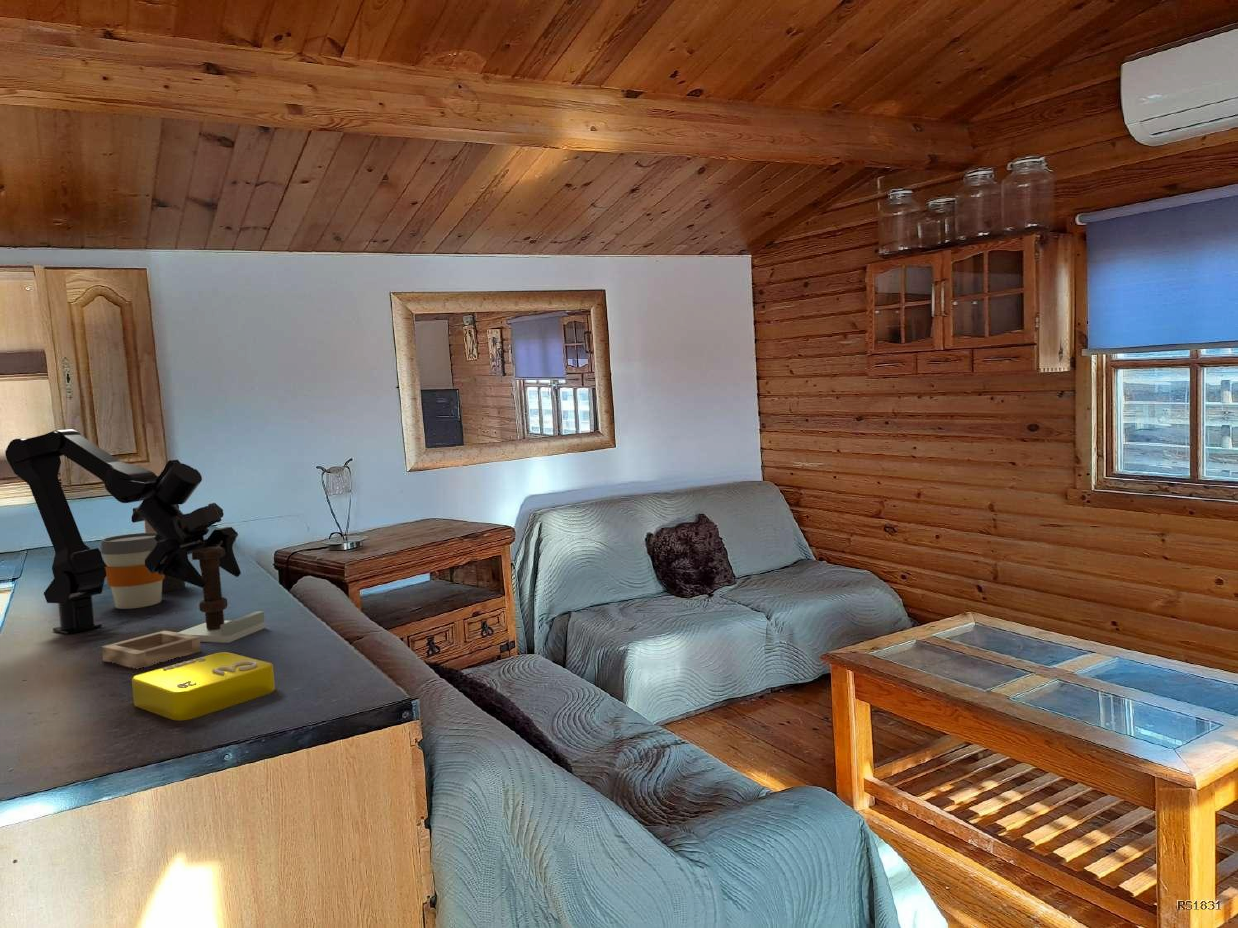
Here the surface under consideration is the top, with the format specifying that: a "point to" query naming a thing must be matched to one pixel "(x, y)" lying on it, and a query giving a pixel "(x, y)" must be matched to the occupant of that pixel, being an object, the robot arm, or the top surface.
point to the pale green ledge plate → (229, 629)
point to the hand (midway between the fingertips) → (222, 580)
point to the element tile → (202, 685)
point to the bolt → (211, 585)
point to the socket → (151, 649)
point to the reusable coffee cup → (131, 570)
